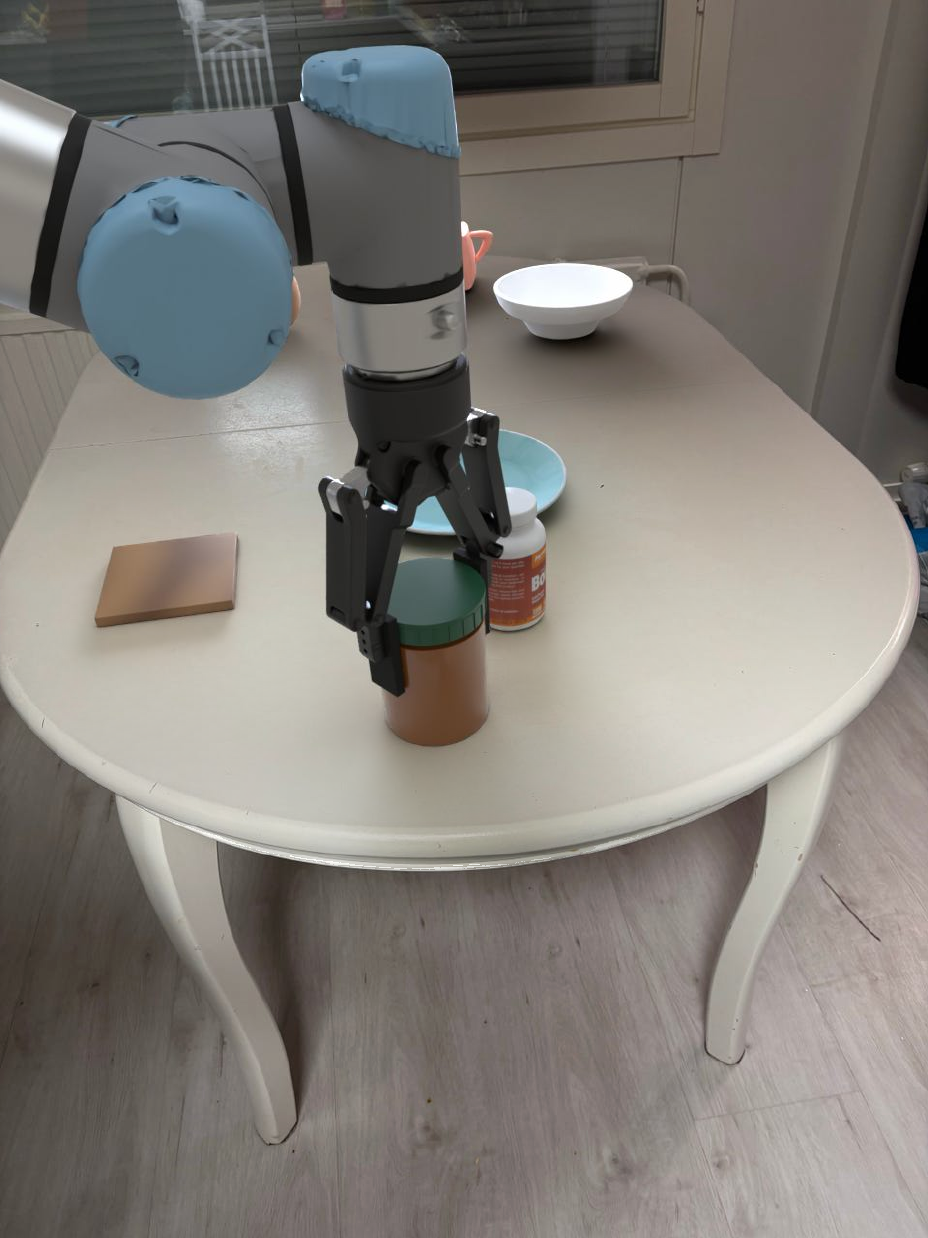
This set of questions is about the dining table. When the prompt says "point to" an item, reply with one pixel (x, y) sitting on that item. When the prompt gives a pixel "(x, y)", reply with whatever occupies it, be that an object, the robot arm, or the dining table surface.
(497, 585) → the pill bottle
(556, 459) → the plate
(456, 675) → the jam jar
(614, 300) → the bowl
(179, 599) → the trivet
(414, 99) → the robot arm
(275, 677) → the dining table surface
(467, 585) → the jar lid
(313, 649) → the dining table surface
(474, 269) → the teapot
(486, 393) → the dining table surface
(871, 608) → the dining table surface
